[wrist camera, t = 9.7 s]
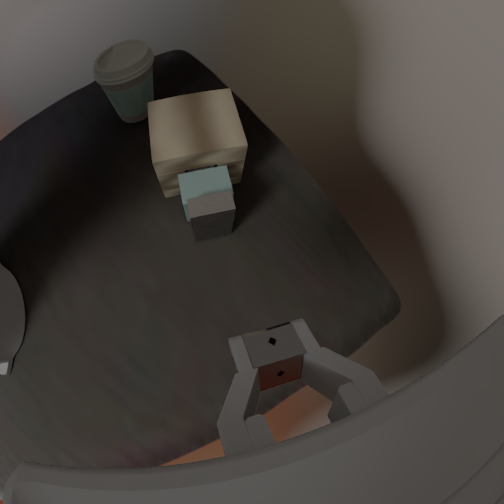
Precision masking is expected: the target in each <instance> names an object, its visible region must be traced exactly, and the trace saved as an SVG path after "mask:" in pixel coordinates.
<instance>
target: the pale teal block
mask: <svg viewBox="0 0 504 504" xmlns="http://www.w3.org/2000/svg"><path fill="white" fill-rule="evenodd" d="M178 180H179V185H180V191H181V197H182V203H183V207H184V211H185V214H186V218H187V221H191V220H190V215H189V210H188V205H187V199H190V198H194V197H199V196H204V195H209V194H214V193H219V192H224V191H229V190H231V192H232V196H234V193H233V189H232V185H231V181H230V177H229V173H228V169H227V165H225V166H219V167H214V168H208V169H203V170H198V171H193V172H188V173H183V174H178Z"/></svg>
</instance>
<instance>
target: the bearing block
mask: <svg viewBox="0 0 504 504" xmlns="http://www.w3.org/2000/svg"><path fill="white" fill-rule="evenodd" d="M147 104H148V120H149V133H150V145H151V155H152V163H153V166H154V169H155V172H156V174H157V177H158V180H159V182H160V185H161V187H162V190H163V193H164V195H165V198H167V197H172V196H176V195H181V191H180V185H179V180H178V174H183V173H188V170H190V169H195V168H200V167H206V166H211V165H214V167H219V166H225V165H227V169H228V173H229V177H230V181H231V184H236V183H240V182H241V177H242V172H243V167H244V162H245V157H246V152H247V147H248V144H247V141H246V137H245V134H244V131H243V128H242V124H241V121H240V118H239V115H238V112H237V109H236V105H235V102H234V99H233V96H232V93H231V90H230V88H228V89H220V90H212V91H205V92H198V93H192V94H186V95H181V96H176V97H170V98H166V99H161V100H156V101H152V102H148V103H147Z"/></svg>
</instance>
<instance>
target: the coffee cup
mask: <svg viewBox="0 0 504 504" xmlns="http://www.w3.org/2000/svg"><path fill="white" fill-rule="evenodd" d="M153 61H154V54H153V52H152V50H151V49H150V48H149V47H148V45H147V43H145V42H144V41H140V40H126V41H122V42H119V43H116V44H114V45H112V46H110V47H109V48H107V49H105V50H104V51H103V52H101V53H100V54H99V56H98V57H97V58H96V60H95V63H94V71H93V73H94V79H95V81H96V82H98V83H99V84H100V85H101V87H102V88H103V90H104V92H105V93H106V95H107V97H108V98H109V100H110V102H111V103H112V105H113V106H114V108H115V110H116V111H117V113H118V115H119V116H120V118H121V119H122V120H123V121H125V122H128V123H135V122H139V121H142V120H144V119H145V118H147V117H148V104H147V103H148V102H152V101H154V93H153V66H152V63H153Z"/></svg>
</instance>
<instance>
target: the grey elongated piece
mask: <svg viewBox="0 0 504 504" xmlns="http://www.w3.org/2000/svg"><path fill="white" fill-rule="evenodd" d="M208 168H214V165H211V166H206V167H200V168H195V169H190V170H188V172H193V171H198V170H203V169H208ZM187 205H188V210H189V215H190V220H191V224H192V228H193V232H194V236H195V240H196V241H199V240H203V239H208V238H213V237H217V236H222V235H227V234H231V232H232V226H233V221H234V216H235V211H236V207H235V203H234V200H233V196H232V192H231V190H229V191H224V192H219V193H214V194H209V195H204V196H199V197H194V198H190V199H187Z"/></svg>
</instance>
